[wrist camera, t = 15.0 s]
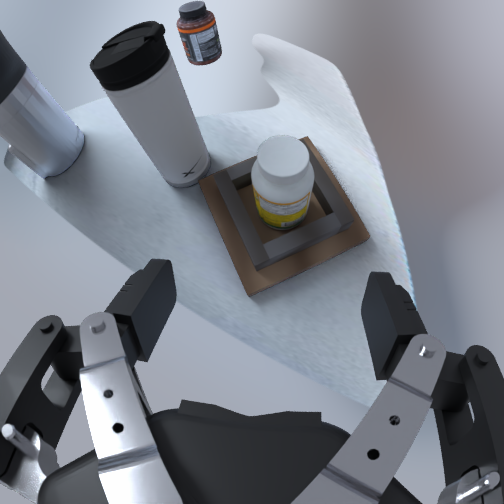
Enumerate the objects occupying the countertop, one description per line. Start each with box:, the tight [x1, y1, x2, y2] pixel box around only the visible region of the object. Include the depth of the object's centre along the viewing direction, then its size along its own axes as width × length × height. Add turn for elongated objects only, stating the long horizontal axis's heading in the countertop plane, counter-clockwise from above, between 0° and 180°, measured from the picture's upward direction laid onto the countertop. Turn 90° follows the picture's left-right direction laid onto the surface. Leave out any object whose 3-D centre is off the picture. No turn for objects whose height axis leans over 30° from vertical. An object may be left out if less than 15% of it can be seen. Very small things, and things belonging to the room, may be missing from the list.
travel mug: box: [90, 21, 211, 187], centre depth 25 cm, size 6×7×20 cm
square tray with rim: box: [198, 136, 370, 297], centre depth 30 cm, size 14×14×4 cm
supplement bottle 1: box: [177, 1, 222, 65], centre depth 35 cm, size 6×6×11 cm
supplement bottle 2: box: [251, 135, 314, 230], centre depth 26 cm, size 5×5×10 cm
